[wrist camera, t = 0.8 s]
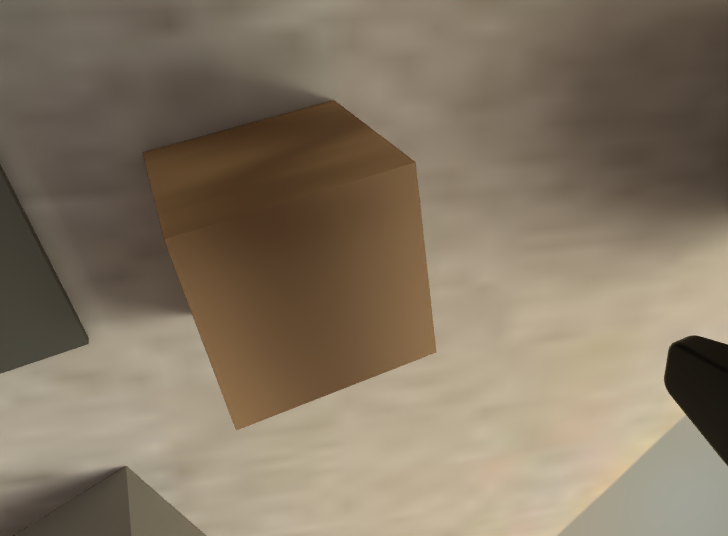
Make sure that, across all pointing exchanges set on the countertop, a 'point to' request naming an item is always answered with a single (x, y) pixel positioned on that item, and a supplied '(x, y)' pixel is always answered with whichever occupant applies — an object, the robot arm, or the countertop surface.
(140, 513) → the grey cube
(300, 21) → the countertop surface
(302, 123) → the walnut cube
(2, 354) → the mat
